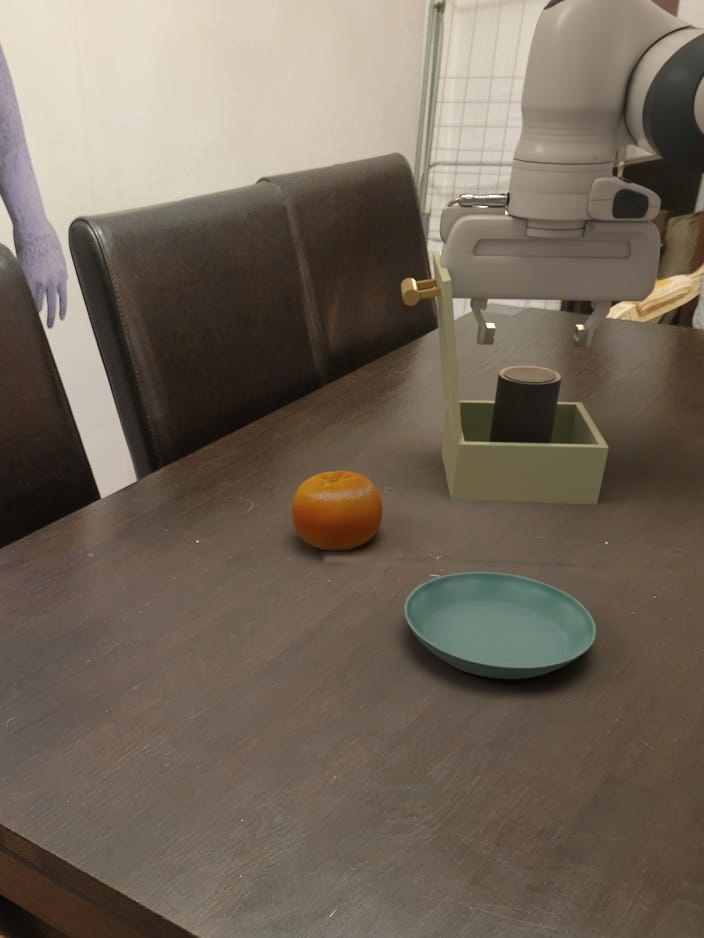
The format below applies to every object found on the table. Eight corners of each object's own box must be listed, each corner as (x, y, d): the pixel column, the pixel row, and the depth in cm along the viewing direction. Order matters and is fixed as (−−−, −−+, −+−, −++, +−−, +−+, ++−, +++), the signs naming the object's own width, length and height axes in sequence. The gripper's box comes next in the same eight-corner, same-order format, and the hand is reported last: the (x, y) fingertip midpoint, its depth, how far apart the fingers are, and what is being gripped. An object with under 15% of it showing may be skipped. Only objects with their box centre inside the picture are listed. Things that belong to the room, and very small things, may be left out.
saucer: (566, 717, 68) (573, 687, 67) (373, 664, 75) (376, 635, 73) (607, 622, 79) (613, 594, 78) (435, 582, 85) (438, 556, 84)
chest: (570, 460, 109) (581, 402, 105) (596, 510, 97) (609, 447, 94) (440, 457, 110) (446, 399, 107) (450, 506, 99) (457, 444, 95)
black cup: (539, 465, 106) (555, 365, 100) (548, 487, 101) (566, 384, 95) (482, 463, 106) (495, 364, 100) (488, 486, 101) (502, 383, 95)
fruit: (317, 479, 97) (327, 433, 89) (389, 522, 95) (406, 479, 88) (271, 539, 94) (278, 497, 87) (345, 584, 92) (359, 545, 85)
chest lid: (440, 250, 99) (397, 258, 99) (451, 279, 87) (402, 287, 88) (450, 395, 106) (410, 401, 107) (462, 439, 95) (417, 445, 96)
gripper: (445, 198, 87) (429, 350, 94) (680, 199, 85) (644, 355, 92) (440, 188, 92) (425, 333, 100) (661, 189, 90) (628, 338, 98)
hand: (532, 344), depth 96 cm, fingers open, 8 cm apart
